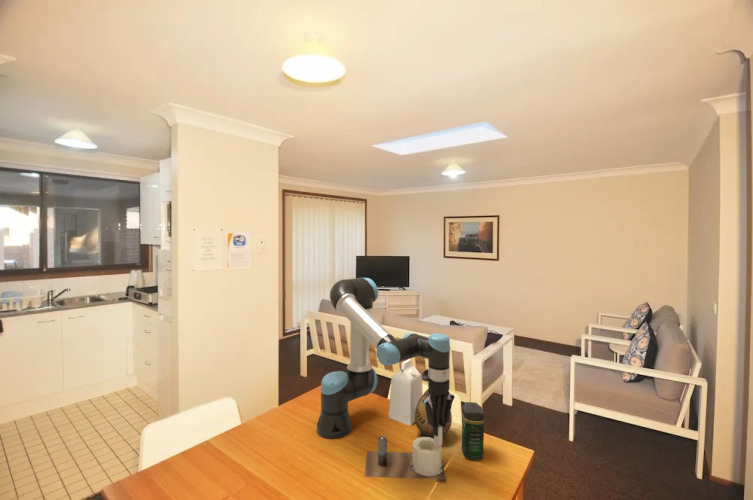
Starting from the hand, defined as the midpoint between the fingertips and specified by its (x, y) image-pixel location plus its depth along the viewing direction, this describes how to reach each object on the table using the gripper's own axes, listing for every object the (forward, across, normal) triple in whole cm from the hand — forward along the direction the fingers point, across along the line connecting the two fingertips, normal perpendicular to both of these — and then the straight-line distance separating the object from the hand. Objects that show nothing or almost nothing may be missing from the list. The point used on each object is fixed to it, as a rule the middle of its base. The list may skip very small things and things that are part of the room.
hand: (438, 443), depth 123 cm
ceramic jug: (+10, +12, +18) cm, 23 cm away
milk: (+9, +10, +36) cm, 39 cm away
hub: (+9, -4, +2) cm, 10 cm away
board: (+9, -10, +6) cm, 15 cm away
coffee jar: (+10, +18, +1) cm, 20 cm away
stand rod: (+9, -17, +10) cm, 22 cm away
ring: (+8, -3, +2) cm, 9 cm away
